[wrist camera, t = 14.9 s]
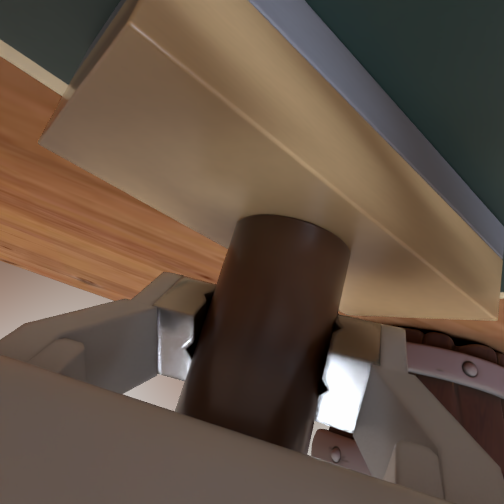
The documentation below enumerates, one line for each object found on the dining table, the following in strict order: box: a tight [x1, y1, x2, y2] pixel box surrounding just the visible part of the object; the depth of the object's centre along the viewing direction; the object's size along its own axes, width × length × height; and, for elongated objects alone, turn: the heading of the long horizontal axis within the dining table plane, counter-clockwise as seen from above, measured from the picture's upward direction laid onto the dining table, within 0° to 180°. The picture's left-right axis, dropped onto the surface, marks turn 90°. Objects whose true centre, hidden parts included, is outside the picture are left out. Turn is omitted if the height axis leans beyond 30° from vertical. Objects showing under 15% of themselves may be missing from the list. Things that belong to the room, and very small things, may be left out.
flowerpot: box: [311, 328, 504, 479], centre depth 28 cm, size 14×15×20 cm
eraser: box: [38, 0, 504, 455], centre depth 9 cm, size 11×5×9 cm, turn 50°
